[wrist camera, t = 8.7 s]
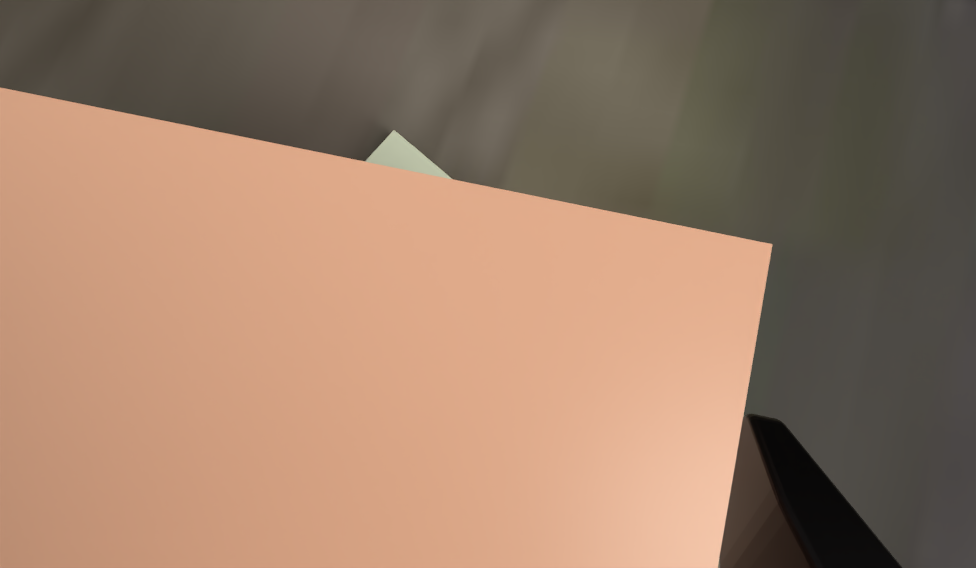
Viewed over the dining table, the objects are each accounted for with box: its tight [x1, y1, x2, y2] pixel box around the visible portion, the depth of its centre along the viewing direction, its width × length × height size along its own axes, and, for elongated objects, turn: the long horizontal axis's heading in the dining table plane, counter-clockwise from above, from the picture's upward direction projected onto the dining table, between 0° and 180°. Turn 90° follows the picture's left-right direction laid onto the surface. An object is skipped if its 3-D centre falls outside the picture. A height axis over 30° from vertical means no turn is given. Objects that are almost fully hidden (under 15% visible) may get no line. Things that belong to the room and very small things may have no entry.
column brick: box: [0, 88, 772, 568], centre depth 9 cm, size 5×5×13 cm
